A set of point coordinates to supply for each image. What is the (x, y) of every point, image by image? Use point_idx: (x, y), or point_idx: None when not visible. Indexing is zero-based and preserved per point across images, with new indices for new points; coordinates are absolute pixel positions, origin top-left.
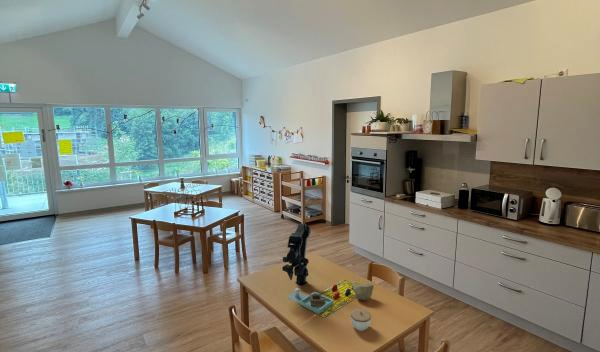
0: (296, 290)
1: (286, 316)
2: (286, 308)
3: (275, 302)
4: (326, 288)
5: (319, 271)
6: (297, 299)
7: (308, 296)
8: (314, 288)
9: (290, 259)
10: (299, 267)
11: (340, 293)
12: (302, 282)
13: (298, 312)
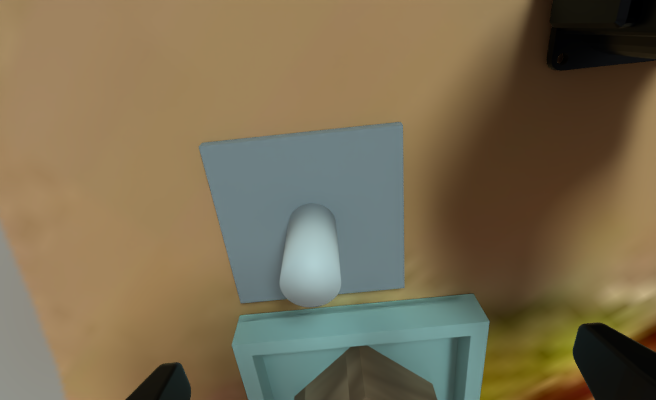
0: (284, 294)
1: (57, 361)
2: (107, 289)
3: (37, 138)
4: (652, 282)
5: None
6: (276, 264)
7: (368, 342)
8: (588, 208)
9: None
10: None
11: None
12: (615, 48)
13: None
